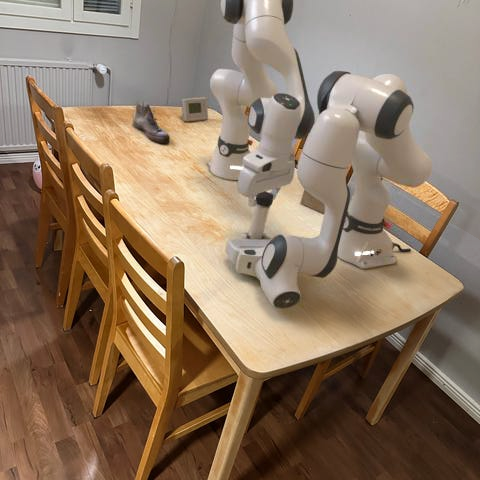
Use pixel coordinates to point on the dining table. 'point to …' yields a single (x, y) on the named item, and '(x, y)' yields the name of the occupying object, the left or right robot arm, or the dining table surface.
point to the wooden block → (312, 202)
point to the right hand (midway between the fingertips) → (253, 234)
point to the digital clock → (194, 109)
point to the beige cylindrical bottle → (258, 222)
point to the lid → (264, 199)
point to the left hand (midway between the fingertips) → (261, 202)
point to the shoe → (149, 124)
